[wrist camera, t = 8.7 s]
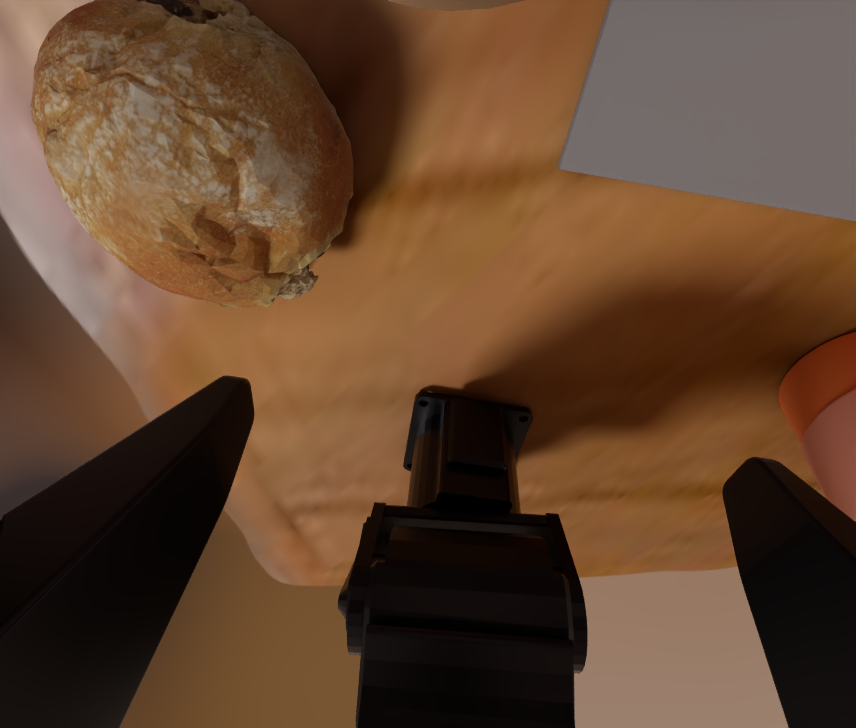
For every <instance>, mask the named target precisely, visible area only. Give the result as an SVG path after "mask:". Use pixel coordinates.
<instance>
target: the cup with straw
mask: <svg viewBox="0 0 856 728" xmlns="http://www.w3.org/2000/svg"><path fill="white" fill-rule="evenodd" d="M778 399H779V404H780V406H781V409H782V411H783V413H784V414H785V416H786V418H787V420H788V421H789V423H790V425H791V427H792V428H793V430H794V432H795V434H796V435H797V437H798V439H799V441H800V442H801V444H802V446H801V448H802V454H803V456H804V459H805V461H806V462H807V464H808V466H809V468H810V469H811V471H812V473H813V475H814V477H815V478H816V480H817V482H818V484H819V485H820V487H821V489H822V491H823V493H824V494H825V496H826V498H827V500H828V501H830V502H831V503H832V504H833V505H835V506H836V507H837V508H839V509H840V510H841V511H842V512H844V513H845V514H846V515H847V516H849V517H850V518H851V519H853V520H854V521H855V522H856V332H853V333H850V334H847V335H843V336H841V337H838V338H836V339H833V340H831V341H829V342H827V343H825V344H823V345H821V346H819V347H817V348H816V349H814V350H812V351H811V352H809V353H808V354H807V355H805V356H804V357H803V358H801V359H800V360H799V361H798V362H797V363H796V364H795V365H794V366H793V367H792V368H791V369H790V370H789V371H788V373H787V374H786V375H785V377H784V379H783V381H782V383H781V385H780V388H779V392H778Z"/></svg>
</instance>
